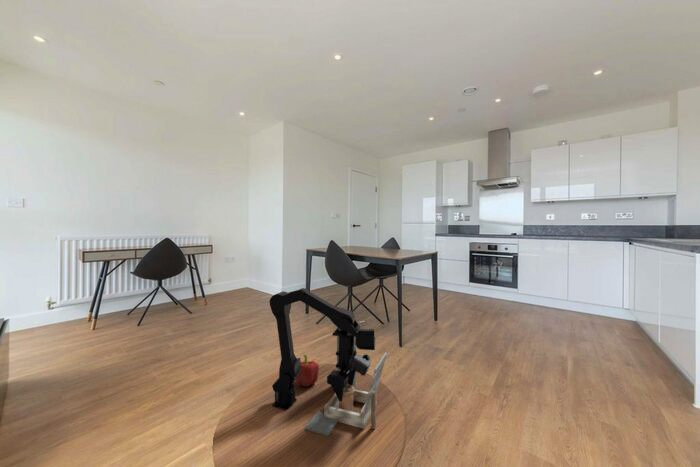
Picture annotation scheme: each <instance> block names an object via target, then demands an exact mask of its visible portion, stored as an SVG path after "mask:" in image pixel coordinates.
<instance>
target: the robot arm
mask: <svg viewBox="0 0 700 467" xmlns="http://www.w3.org/2000/svg"><path fill="white" fill-rule="evenodd" d="M297 302H302V304H305V305H307V306H308V307H309V308H312V309H314V311H317V312H318V313H320V314H322V315H323V316H325V317H326V318H328V319H329V320H330V321H331V323H333V325H335V327H336V329H335V330H334V331H333V332H332V336H333V337H337V336H338V351H337V350H336V352H335V356H336V357H337V356H338V363H337V362H336V363H335V368H336V369H333V370H331V372H329V374H328V375H327V376H326V383H327V384H328V385H330V387H331V388H332V389H333V392H334V394H335V393H336V395H337V398H338V400H339V401H342V399H343V393H344V387H345V386H346V385H347V383H348V385H352V386H353V382H354V378H355V374H356V375H357V373H359V375H361V376H366V374H367V373H368V371H369V368H370V366H371V363H372V362H371V359H370V354H368V353H364V354H363V355H358V351H357V349H358V350H363V351H376V334H375V333H376V332H375V331H376V330H375V329H374V328H369V329H365V328H361V326H360V324H359V323H358V322H357V320H356V317H355V313H354V312H353V311H352V310H349V309H347V308H344V307H340V306H335V305H333V304H331V303H330V302H328V301H327V300H324V299H323V298H321V297H320V296H318V295H316V294H315V293H312V292H311V291H309V290H308V289H307V288H305V287H302V288H299V289H296V290H293V291H288V292H287V291H284V290H282V291H280V292H278V293H274V294H273V295H272V296H271V297H270V299H269V306H270V307H269V308H270V310H271V314H272V315H273V317H274V318H275V319H276V328H277V334H278V342H279V351H280V363H279V368H278V378H277V379H276V381H274V383H273V384H272V386H271V387H272V390H273V391H274V402H272V403H271V406H272V407H275V408H278V409H282V410H285V411H287V410H288V409H289V408H291V407H292V405H294V404H295V403H296V401H297V400H298V399H297V398H296V389H295V384H294V383H295V380H296V379H297V377H298V376H299V374H300V372H301V369H302V366H301V362H302V361H301V357H297V356H296V355H295V352H294V351H295V349H294V343H293V335H292V334H293V333H292V328H291V327H292V326H291V319H290V313H291V309H292V304H294V303H297ZM354 337H356V339H355V345H356V350H354ZM337 368H339V369H340V371H337Z"/></svg>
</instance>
